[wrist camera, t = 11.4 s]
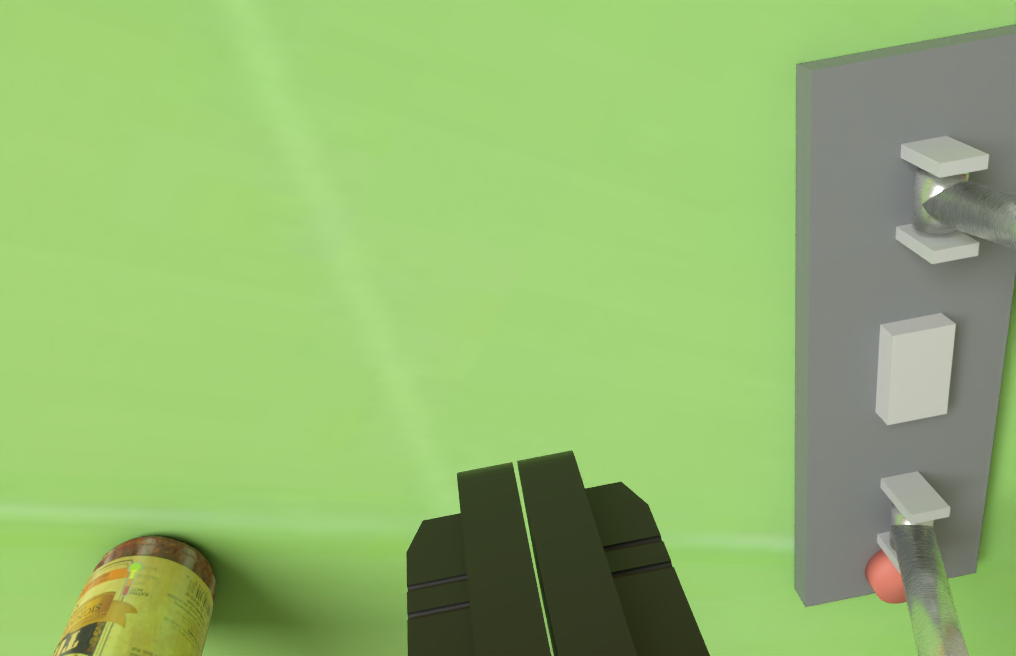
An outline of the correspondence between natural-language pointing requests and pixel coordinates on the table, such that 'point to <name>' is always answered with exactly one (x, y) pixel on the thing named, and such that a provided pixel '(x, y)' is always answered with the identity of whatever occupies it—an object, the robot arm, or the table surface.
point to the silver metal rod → (926, 588)
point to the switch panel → (896, 307)
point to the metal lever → (963, 208)
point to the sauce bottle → (143, 602)
